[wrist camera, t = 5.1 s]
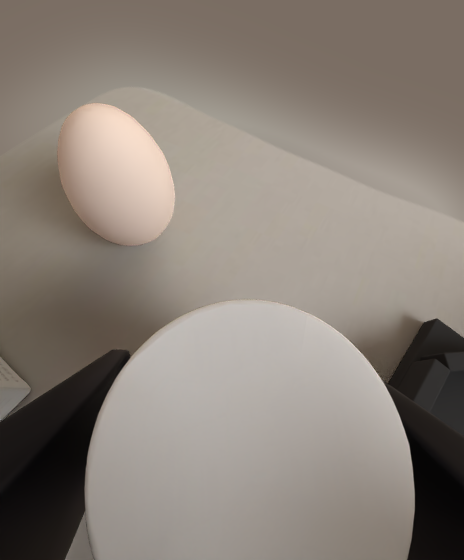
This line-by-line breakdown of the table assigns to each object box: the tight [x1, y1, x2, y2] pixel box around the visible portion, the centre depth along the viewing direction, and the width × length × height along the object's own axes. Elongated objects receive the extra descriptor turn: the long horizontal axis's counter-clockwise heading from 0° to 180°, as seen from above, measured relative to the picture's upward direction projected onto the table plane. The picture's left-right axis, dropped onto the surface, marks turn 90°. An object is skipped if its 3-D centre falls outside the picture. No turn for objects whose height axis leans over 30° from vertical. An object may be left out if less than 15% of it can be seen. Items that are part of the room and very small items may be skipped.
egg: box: [57, 103, 175, 246], centre depth 13 cm, size 5×5×7 cm
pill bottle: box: [84, 299, 415, 560], centre depth 8 cm, size 6×6×10 cm
